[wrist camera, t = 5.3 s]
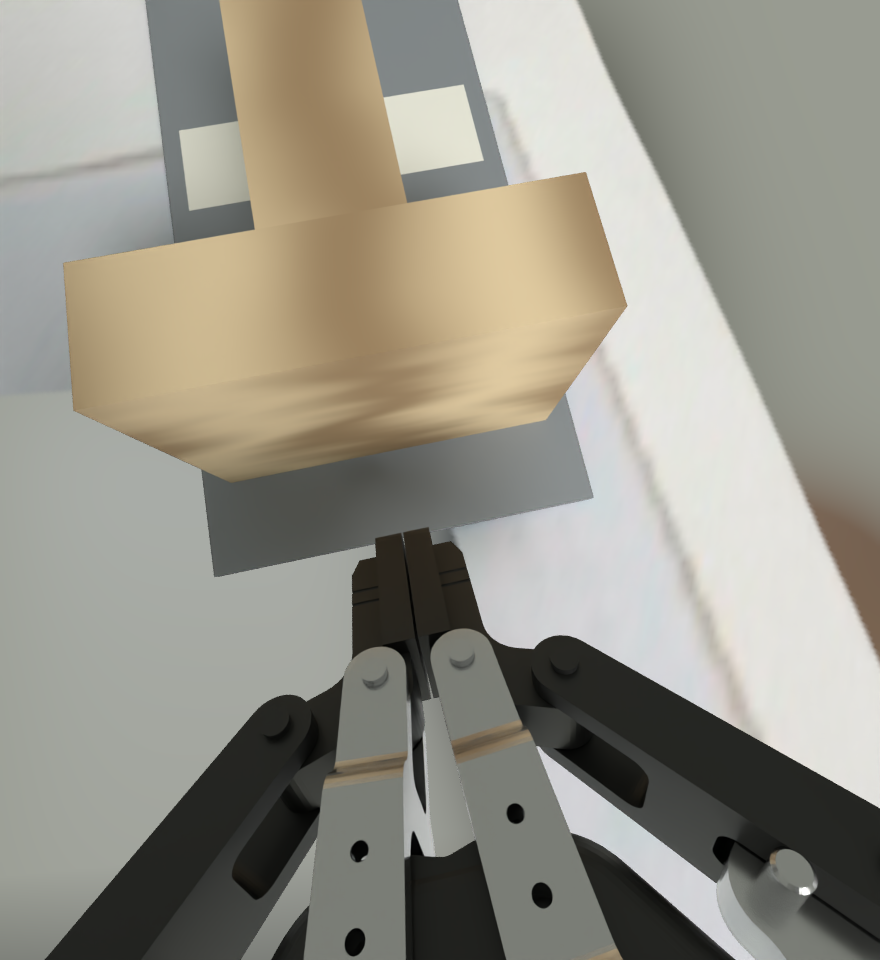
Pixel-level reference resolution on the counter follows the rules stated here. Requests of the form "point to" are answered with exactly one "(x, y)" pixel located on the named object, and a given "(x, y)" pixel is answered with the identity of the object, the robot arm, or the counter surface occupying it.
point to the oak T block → (338, 283)
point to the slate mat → (425, 175)
